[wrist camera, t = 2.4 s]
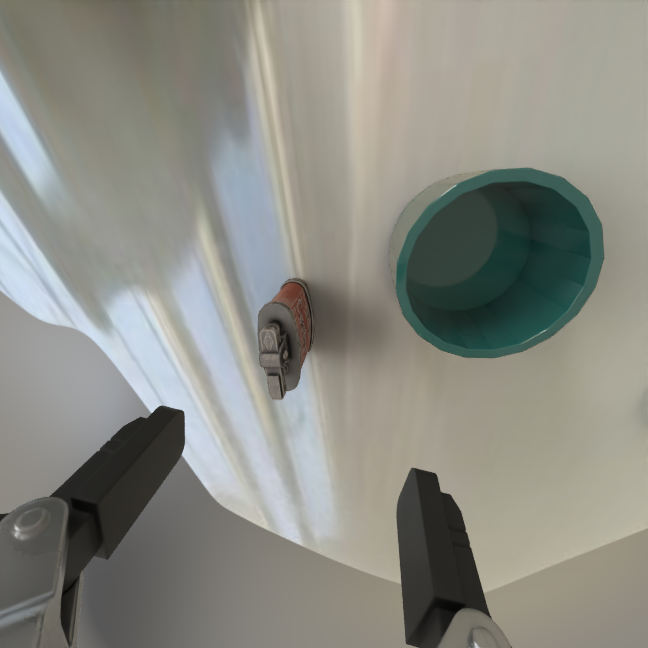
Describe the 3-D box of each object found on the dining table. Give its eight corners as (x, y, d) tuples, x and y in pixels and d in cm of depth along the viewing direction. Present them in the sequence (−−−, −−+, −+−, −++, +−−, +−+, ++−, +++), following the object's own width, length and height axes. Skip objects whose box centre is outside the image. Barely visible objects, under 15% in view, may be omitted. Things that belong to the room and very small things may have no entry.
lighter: (277, 278, 31) (239, 316, 22) (311, 277, 31) (285, 316, 22) (286, 350, 34) (256, 409, 25) (317, 350, 34) (297, 411, 25)
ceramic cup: (387, 314, 31) (393, 356, 23) (391, 178, 26) (399, 175, 18) (520, 314, 29) (574, 359, 22) (550, 168, 24) (633, 160, 17)
